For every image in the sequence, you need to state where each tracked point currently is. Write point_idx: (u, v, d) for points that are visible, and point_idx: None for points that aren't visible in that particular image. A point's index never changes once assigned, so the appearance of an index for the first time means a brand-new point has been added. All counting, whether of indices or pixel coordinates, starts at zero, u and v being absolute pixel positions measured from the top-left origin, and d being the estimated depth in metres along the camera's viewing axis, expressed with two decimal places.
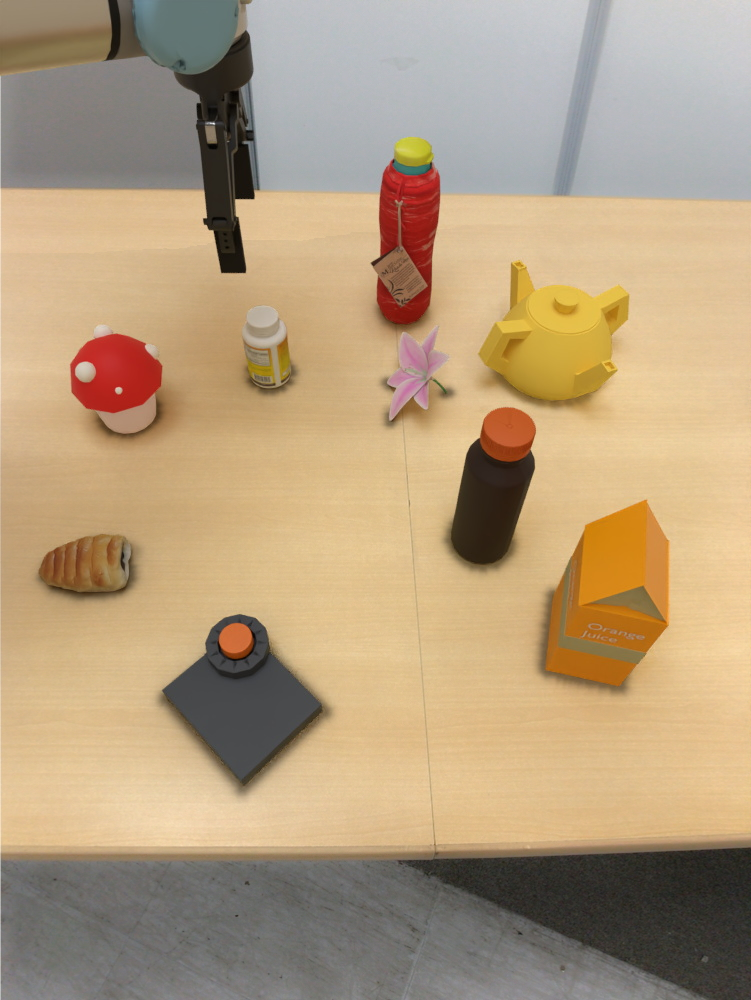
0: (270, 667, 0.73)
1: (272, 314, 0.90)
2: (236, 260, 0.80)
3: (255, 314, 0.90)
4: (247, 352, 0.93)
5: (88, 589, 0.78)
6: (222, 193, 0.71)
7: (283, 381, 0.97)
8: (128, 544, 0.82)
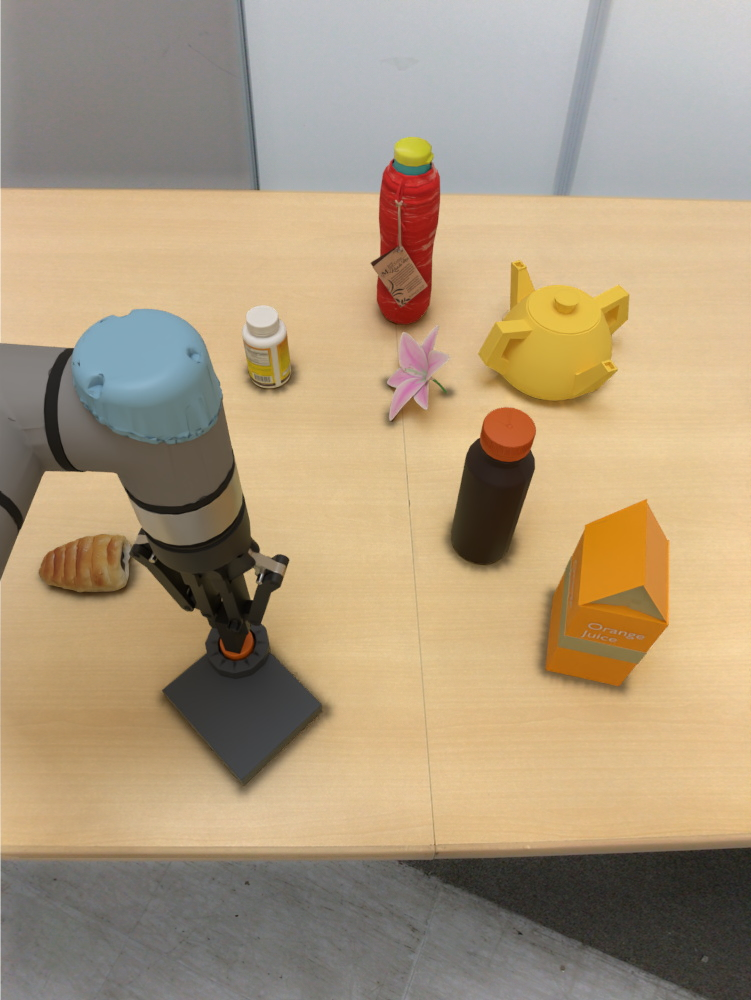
0: (270, 667, 0.73)
1: (272, 314, 0.90)
2: None
3: (255, 314, 0.90)
4: (247, 352, 0.93)
5: (88, 589, 0.78)
6: None
7: (283, 381, 0.97)
8: (128, 544, 0.82)
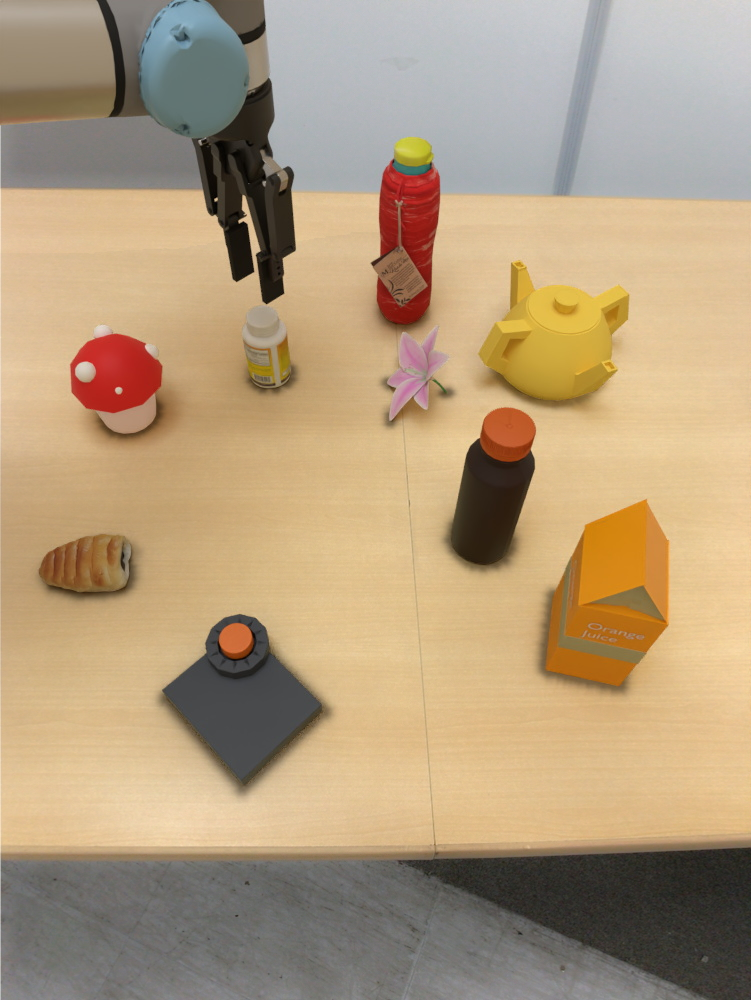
0: (270, 667, 0.73)
1: (272, 314, 0.90)
2: (278, 285, 0.84)
3: (255, 314, 0.90)
4: (247, 352, 0.93)
5: (88, 589, 0.78)
6: (289, 227, 0.75)
7: (283, 381, 0.97)
8: (128, 544, 0.82)
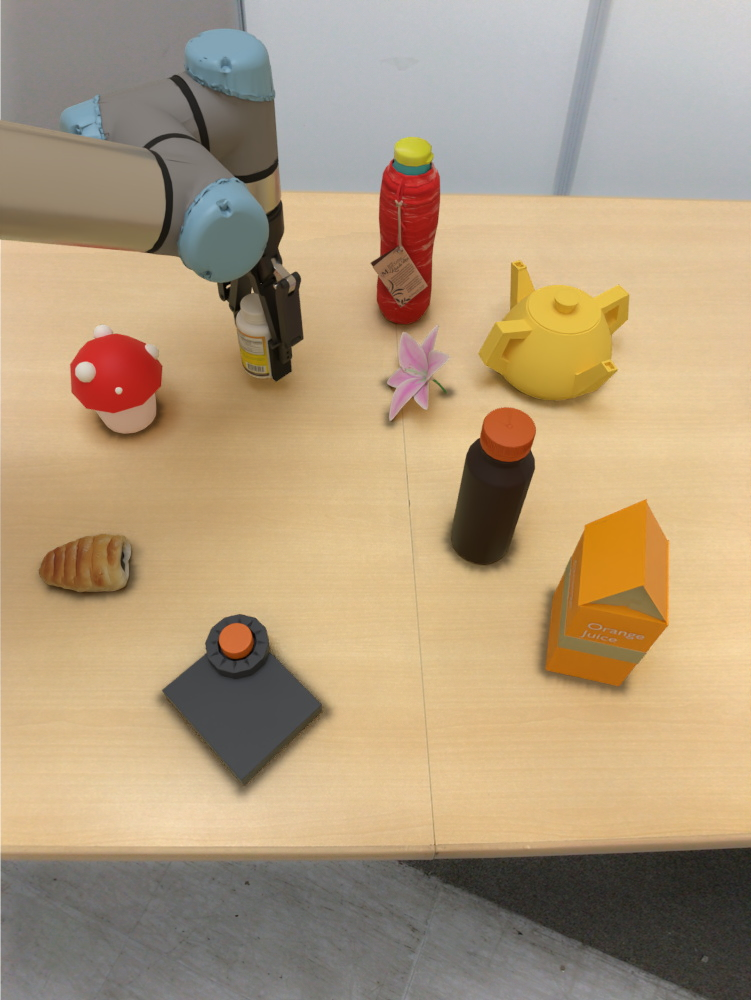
0: (270, 667, 0.73)
1: None
2: (286, 365, 0.94)
3: (250, 301, 0.88)
4: (241, 340, 0.90)
5: (88, 589, 0.78)
6: (297, 321, 0.85)
7: None
8: (128, 544, 0.82)
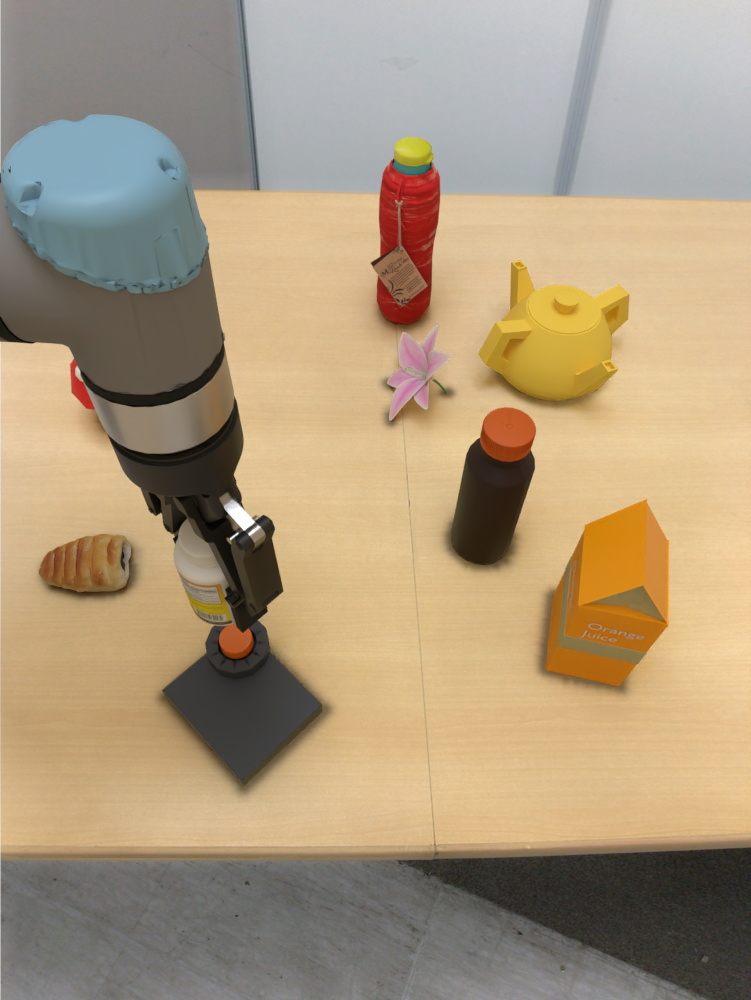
0: (270, 667, 0.73)
1: None
2: None
3: None
4: (183, 583, 0.56)
5: (88, 589, 0.78)
6: (271, 575, 0.50)
7: None
8: (128, 544, 0.82)
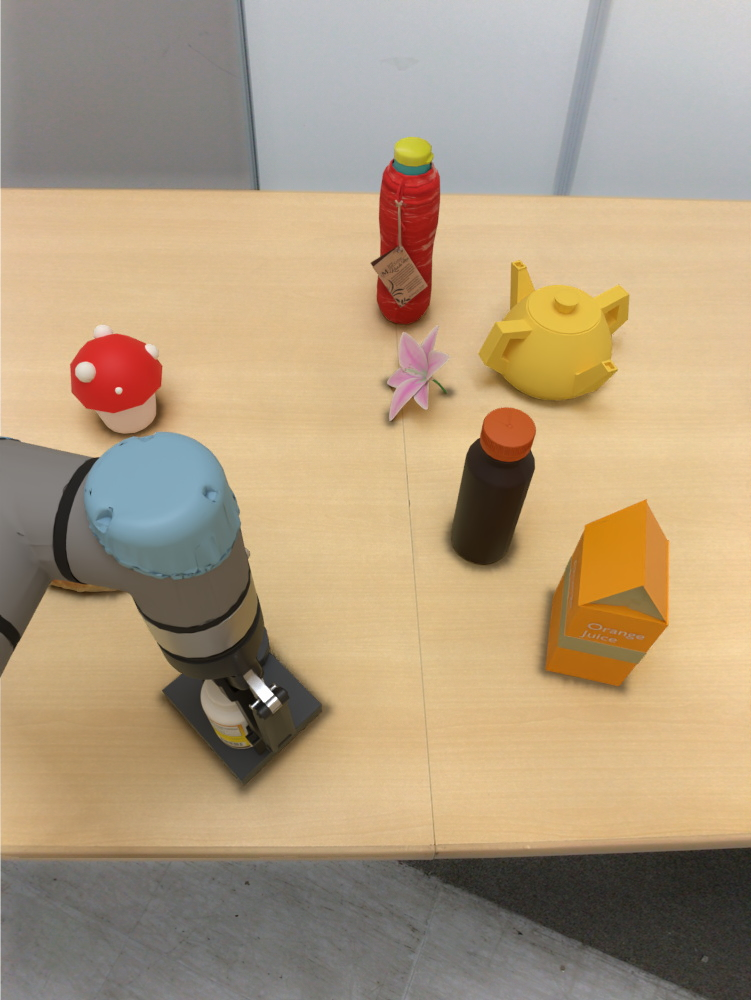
0: (270, 667, 0.73)
1: None
2: None
3: None
4: (209, 719, 0.65)
5: (88, 589, 0.78)
6: (285, 725, 0.59)
7: None
8: None
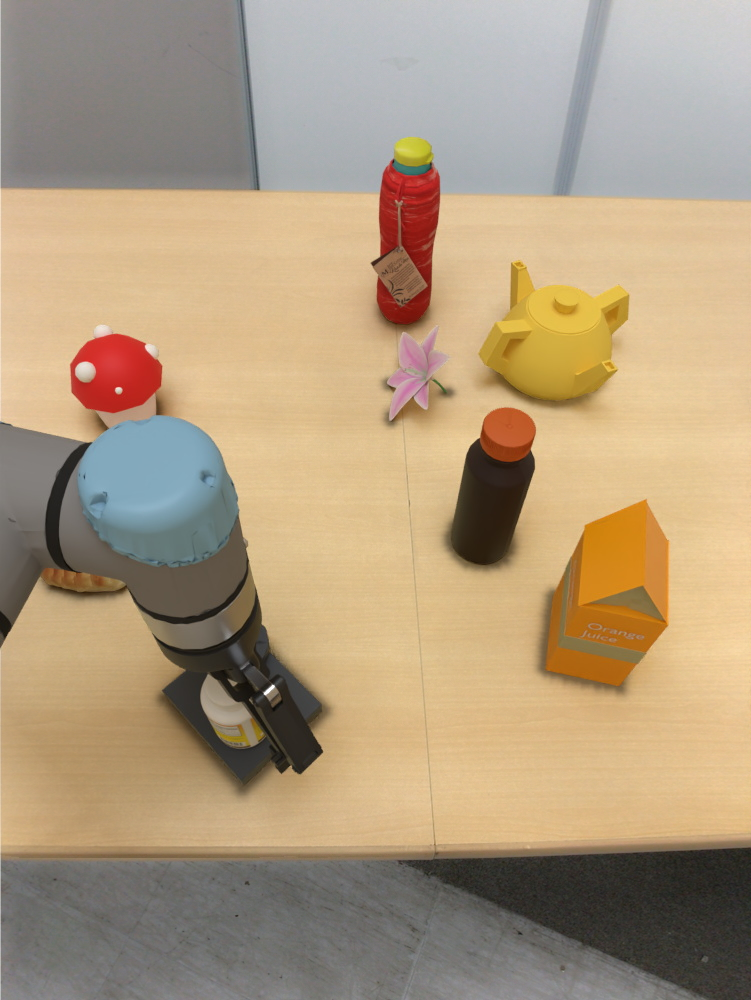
0: (270, 667, 0.73)
1: None
2: None
3: None
4: None
5: (88, 589, 0.78)
6: (303, 734, 0.56)
7: (261, 739, 0.68)
8: None
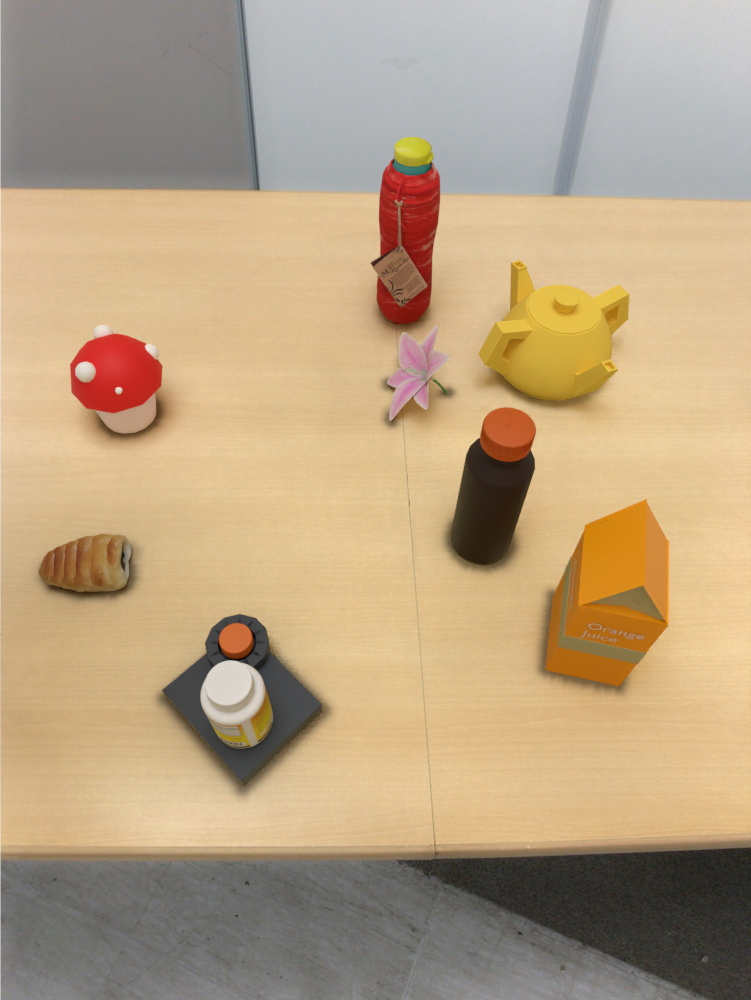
0: (270, 667, 0.73)
1: (243, 679, 0.62)
2: None
3: (219, 680, 0.62)
4: None
5: (88, 589, 0.78)
6: None
7: (261, 739, 0.68)
8: (128, 544, 0.82)
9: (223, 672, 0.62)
